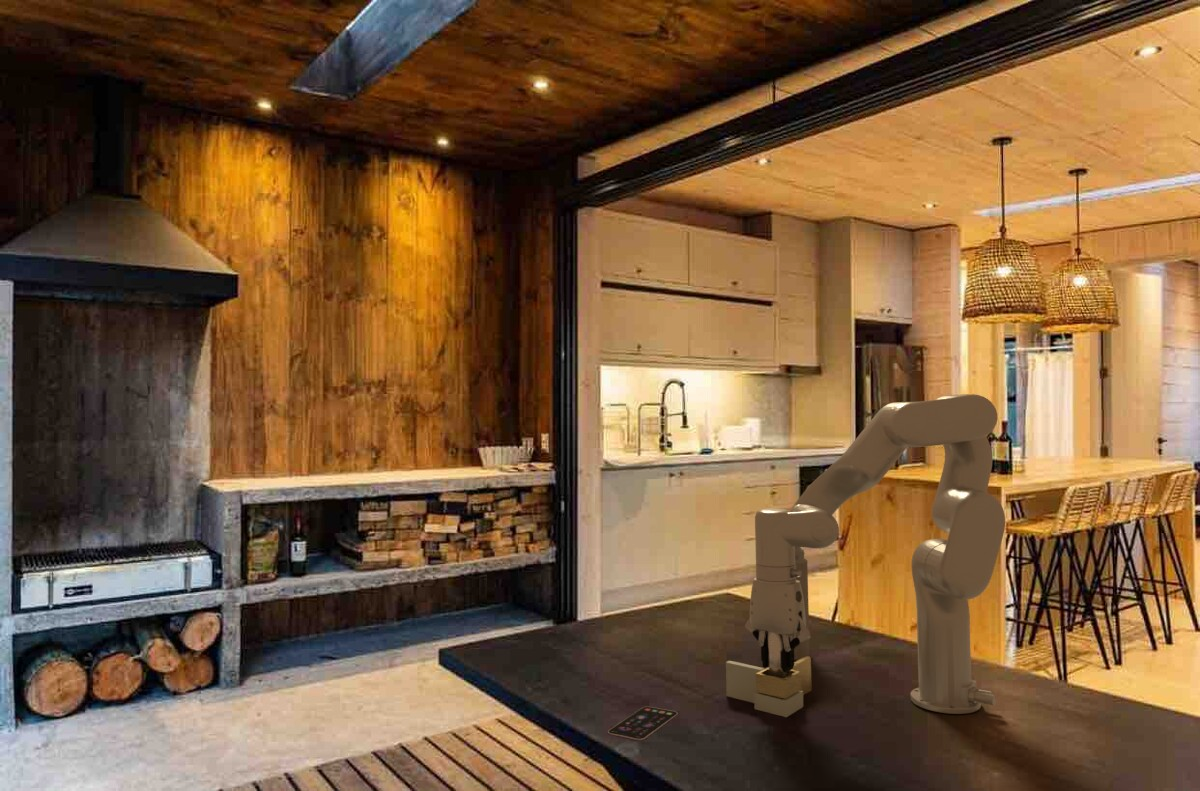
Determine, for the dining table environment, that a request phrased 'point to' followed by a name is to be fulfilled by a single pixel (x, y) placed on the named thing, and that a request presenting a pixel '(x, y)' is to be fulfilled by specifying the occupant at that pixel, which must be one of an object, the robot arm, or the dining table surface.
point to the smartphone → (642, 723)
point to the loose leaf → (744, 688)
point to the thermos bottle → (801, 564)
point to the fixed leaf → (786, 680)
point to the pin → (775, 655)
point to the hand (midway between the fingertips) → (777, 667)
